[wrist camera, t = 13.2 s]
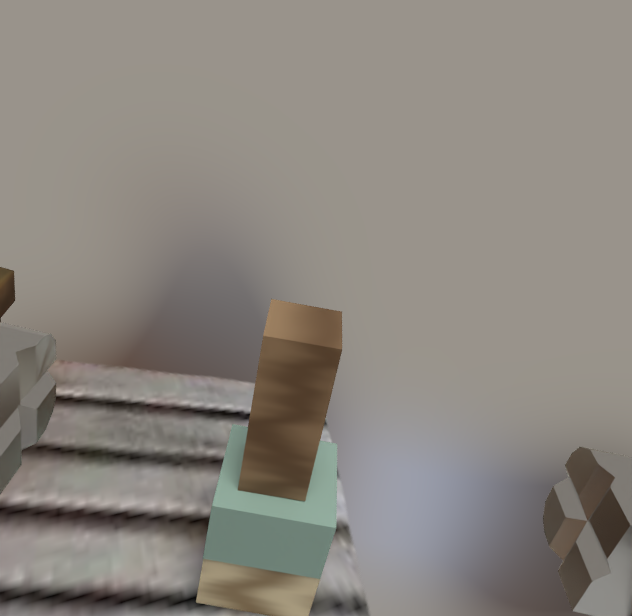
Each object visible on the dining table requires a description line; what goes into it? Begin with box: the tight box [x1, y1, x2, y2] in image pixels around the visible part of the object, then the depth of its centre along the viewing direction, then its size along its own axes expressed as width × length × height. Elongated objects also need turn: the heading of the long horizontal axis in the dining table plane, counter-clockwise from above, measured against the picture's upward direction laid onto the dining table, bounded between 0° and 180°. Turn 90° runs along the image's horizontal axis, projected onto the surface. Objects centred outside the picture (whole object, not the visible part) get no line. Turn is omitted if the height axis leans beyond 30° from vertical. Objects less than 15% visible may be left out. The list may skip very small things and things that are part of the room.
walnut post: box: [238, 299, 342, 501], centre depth 38 cm, size 4×4×12 cm
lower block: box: [196, 559, 321, 616], centre depth 45 cm, size 8×8×5 cm
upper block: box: [203, 424, 337, 579], centre depth 42 cm, size 8×8×5 cm
